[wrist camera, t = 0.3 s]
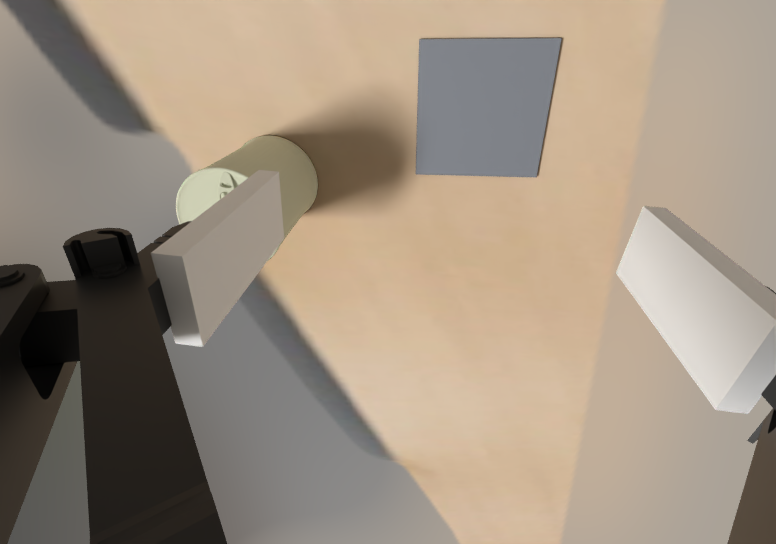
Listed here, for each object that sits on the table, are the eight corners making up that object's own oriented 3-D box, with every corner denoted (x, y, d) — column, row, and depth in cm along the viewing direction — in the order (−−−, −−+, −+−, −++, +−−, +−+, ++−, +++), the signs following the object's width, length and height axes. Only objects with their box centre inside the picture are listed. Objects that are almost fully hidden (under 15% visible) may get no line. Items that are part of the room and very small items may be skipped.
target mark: (419, 39, 36) (419, 39, 36) (560, 38, 35) (561, 38, 34) (415, 173, 42) (415, 174, 42) (536, 176, 41) (536, 177, 40)
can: (320, 143, 41) (280, 179, 31) (316, 225, 46) (280, 280, 36) (231, 128, 42) (163, 159, 31) (236, 211, 46) (178, 262, 36)
